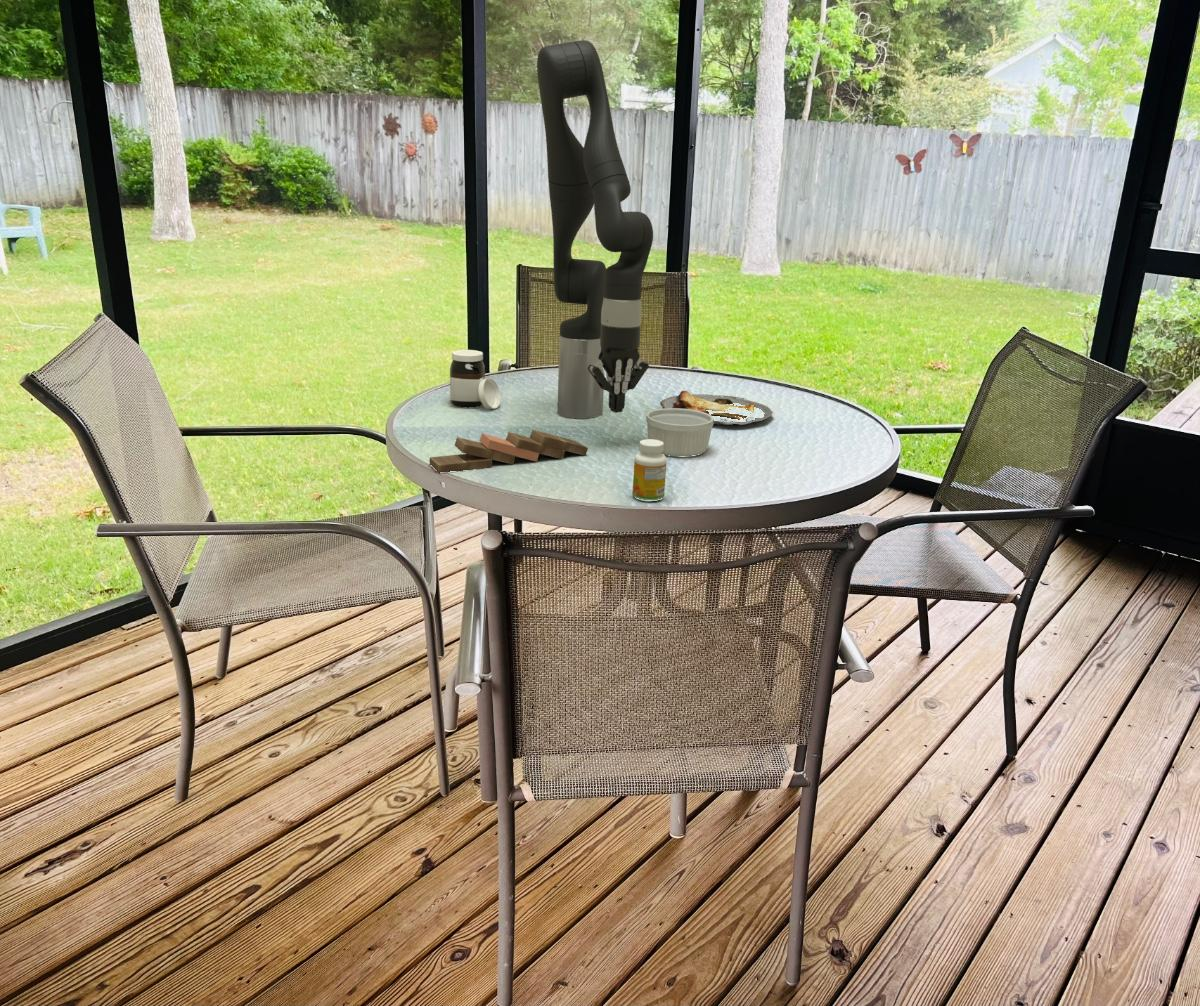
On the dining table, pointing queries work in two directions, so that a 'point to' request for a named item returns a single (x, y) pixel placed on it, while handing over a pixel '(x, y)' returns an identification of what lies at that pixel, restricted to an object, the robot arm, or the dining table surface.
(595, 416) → the robot arm
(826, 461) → the dining table surface
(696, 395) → the food plate
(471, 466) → the domino
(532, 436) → the domino
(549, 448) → the domino
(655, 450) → the supplement bottle
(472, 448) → the domino
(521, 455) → the domino
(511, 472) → the dining table surface
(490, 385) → the spread jar
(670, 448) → the ramekin
